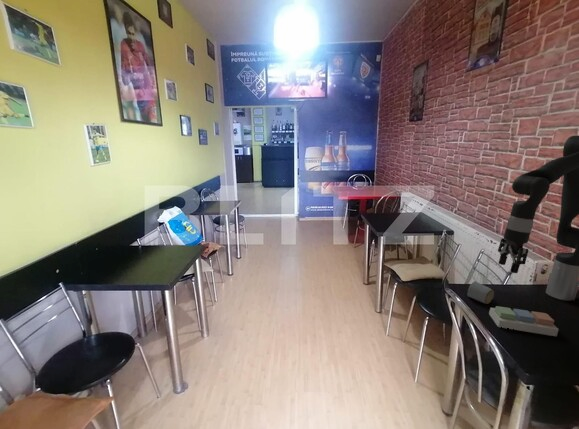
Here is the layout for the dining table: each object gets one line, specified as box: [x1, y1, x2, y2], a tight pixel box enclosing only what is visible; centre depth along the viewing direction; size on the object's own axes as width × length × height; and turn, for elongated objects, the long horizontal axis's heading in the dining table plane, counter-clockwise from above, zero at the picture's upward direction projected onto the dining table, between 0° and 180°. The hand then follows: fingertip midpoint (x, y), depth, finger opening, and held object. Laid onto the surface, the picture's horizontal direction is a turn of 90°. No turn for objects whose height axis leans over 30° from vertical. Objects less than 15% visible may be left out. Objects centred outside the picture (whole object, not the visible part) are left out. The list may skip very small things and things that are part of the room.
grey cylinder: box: [467, 281, 495, 305], centre depth 130 cm, size 11×8×8 cm
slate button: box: [512, 308, 535, 323], centre depth 112 cm, size 5×5×3 cm
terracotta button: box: [530, 311, 555, 326], centre depth 111 cm, size 5×5×3 cm
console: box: [488, 307, 560, 337], centre depth 113 cm, size 19×9×3 cm, turn 75°
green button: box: [494, 305, 516, 320], centre depth 114 cm, size 5×5×3 cm
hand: (507, 268), depth 113 cm, fingers open, 8 cm apart
